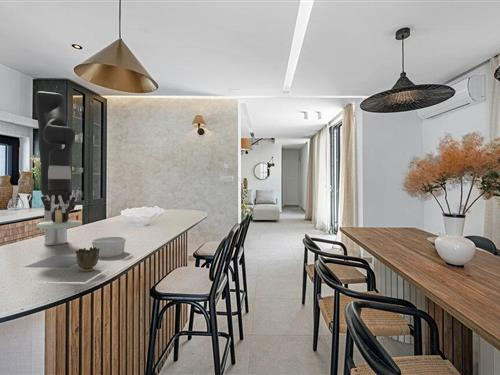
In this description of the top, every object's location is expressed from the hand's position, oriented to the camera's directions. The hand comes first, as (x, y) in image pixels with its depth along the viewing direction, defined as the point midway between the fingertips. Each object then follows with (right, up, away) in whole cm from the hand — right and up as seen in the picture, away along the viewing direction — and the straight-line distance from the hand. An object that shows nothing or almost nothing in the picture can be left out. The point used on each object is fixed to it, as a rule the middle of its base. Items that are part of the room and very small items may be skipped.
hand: (60, 221), depth 117 cm
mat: (0, -16, 0) cm, 16 cm away
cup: (+17, -17, -11) cm, 26 cm away
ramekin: (+13, -16, +13) cm, 25 cm away
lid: (0, -2, 0) cm, 2 cm away
